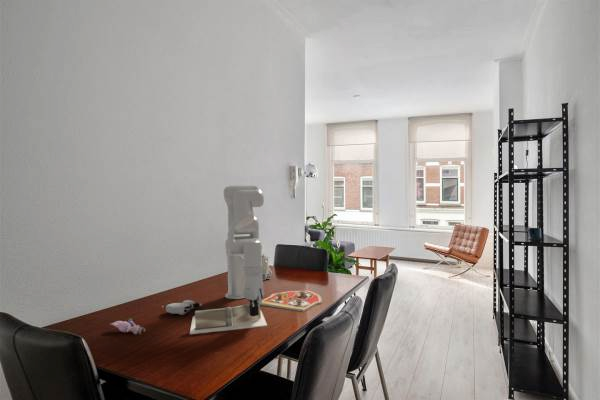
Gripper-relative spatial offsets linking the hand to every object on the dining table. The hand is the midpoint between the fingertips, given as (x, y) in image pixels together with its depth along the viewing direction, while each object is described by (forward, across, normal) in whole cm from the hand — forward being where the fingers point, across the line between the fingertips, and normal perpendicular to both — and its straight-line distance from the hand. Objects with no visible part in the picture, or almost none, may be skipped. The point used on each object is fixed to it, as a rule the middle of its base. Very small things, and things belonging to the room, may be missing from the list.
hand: (254, 315), depth 145 cm
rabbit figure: (+4, -27, -42) cm, 50 cm away
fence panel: (+3, -4, -2) cm, 5 cm away
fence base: (+4, -7, -14) cm, 17 cm away
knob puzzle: (+4, -17, +34) cm, 38 cm away
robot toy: (+3, -37, -17) cm, 40 cm away
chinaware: (+1, -69, +44) cm, 82 cm away
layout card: (+4, -10, -7) cm, 13 cm away
